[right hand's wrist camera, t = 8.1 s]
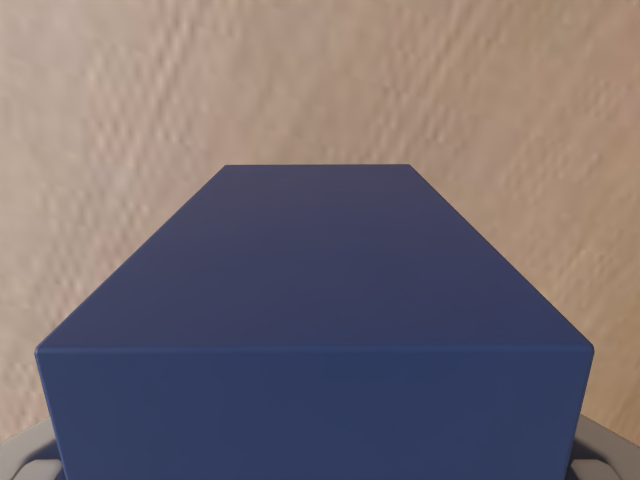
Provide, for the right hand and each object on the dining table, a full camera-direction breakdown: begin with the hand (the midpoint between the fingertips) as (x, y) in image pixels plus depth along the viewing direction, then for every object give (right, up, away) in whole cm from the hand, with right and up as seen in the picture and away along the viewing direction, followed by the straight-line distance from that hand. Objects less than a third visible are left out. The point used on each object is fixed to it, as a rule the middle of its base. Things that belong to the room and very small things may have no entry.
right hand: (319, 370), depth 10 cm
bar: (0, -6, +6) cm, 9 cm away
